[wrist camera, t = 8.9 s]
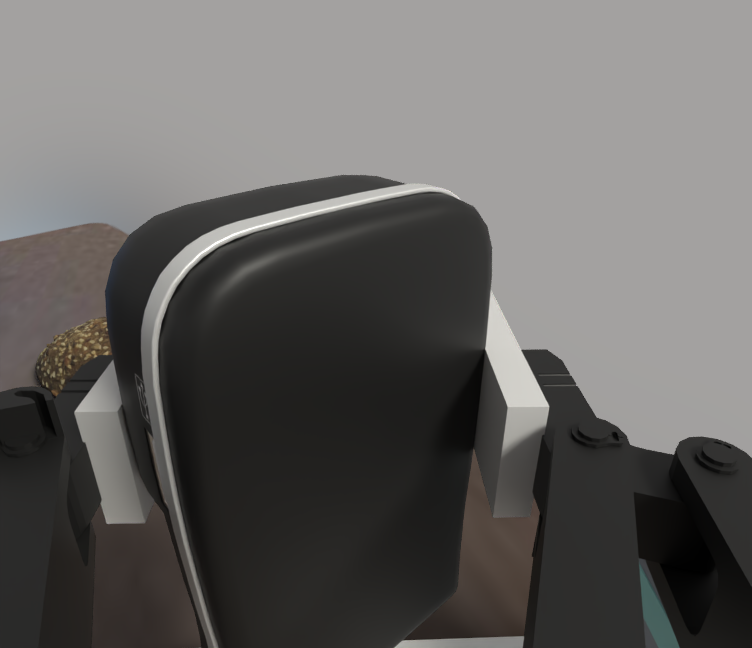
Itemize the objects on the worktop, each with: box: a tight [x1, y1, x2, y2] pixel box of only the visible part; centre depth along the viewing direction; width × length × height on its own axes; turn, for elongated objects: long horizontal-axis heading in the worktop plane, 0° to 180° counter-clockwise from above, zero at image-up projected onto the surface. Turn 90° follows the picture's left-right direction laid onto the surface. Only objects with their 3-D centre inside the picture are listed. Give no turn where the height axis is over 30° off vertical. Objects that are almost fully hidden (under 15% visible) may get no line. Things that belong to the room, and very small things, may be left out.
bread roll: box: [36, 317, 112, 396], centre depth 47 cm, size 13×12×5 cm
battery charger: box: [105, 175, 492, 648], centre depth 12 cm, size 7×4×11 cm, turn 132°
